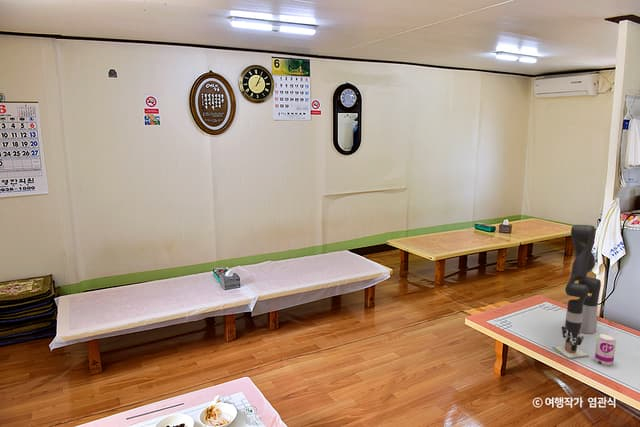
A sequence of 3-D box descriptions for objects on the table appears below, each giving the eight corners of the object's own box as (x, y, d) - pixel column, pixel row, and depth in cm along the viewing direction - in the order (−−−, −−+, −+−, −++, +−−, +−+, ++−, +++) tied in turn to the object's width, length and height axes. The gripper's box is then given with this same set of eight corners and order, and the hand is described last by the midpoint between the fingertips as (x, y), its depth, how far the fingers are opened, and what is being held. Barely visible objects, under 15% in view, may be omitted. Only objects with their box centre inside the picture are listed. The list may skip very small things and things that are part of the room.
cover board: (571, 346, 248) (572, 337, 247) (586, 356, 238) (587, 347, 237) (554, 348, 246) (555, 339, 245) (568, 358, 236) (569, 349, 235)
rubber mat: (572, 347, 250) (572, 345, 249) (589, 358, 237) (589, 357, 237) (551, 349, 247) (551, 347, 247) (567, 361, 235) (568, 359, 235)
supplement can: (613, 369, 227) (616, 342, 224) (594, 364, 231) (597, 338, 228) (612, 362, 234) (616, 335, 231) (594, 357, 238) (597, 331, 235)
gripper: (590, 324, 232) (586, 354, 235) (570, 313, 246) (567, 342, 249) (577, 325, 231) (573, 356, 234) (558, 314, 245) (555, 343, 248)
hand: (570, 348), depth 242 cm, fingers closed on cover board, 4 cm apart
